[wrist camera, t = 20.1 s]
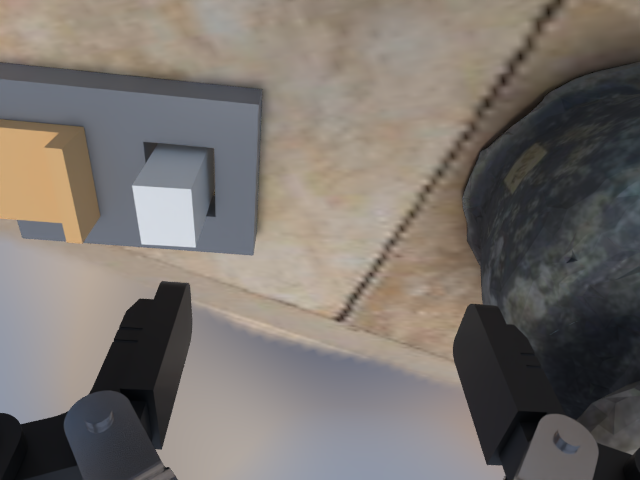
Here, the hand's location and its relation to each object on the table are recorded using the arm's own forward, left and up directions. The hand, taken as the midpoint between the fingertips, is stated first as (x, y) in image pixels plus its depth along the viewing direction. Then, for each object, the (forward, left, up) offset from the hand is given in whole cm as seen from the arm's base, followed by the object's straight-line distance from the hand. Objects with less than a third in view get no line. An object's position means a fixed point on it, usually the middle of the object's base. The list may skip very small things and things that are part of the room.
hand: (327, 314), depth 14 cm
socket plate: (+10, -14, -28) cm, 33 cm away
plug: (+10, -10, -28) cm, 31 cm away
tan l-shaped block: (+10, -21, -24) cm, 34 cm away
